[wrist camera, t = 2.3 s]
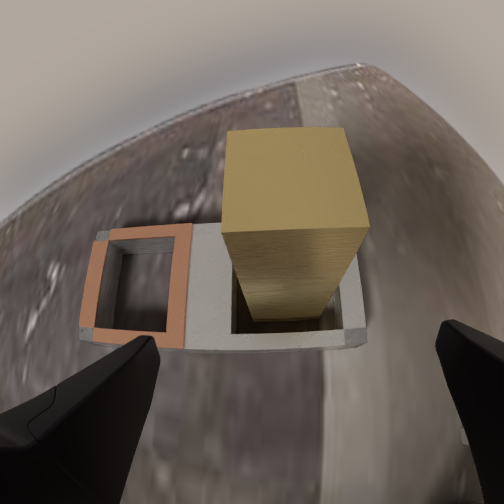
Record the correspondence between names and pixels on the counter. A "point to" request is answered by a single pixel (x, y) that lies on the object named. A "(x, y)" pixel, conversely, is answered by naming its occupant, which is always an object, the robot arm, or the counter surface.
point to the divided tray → (202, 296)
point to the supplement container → (470, 502)
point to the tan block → (291, 218)
